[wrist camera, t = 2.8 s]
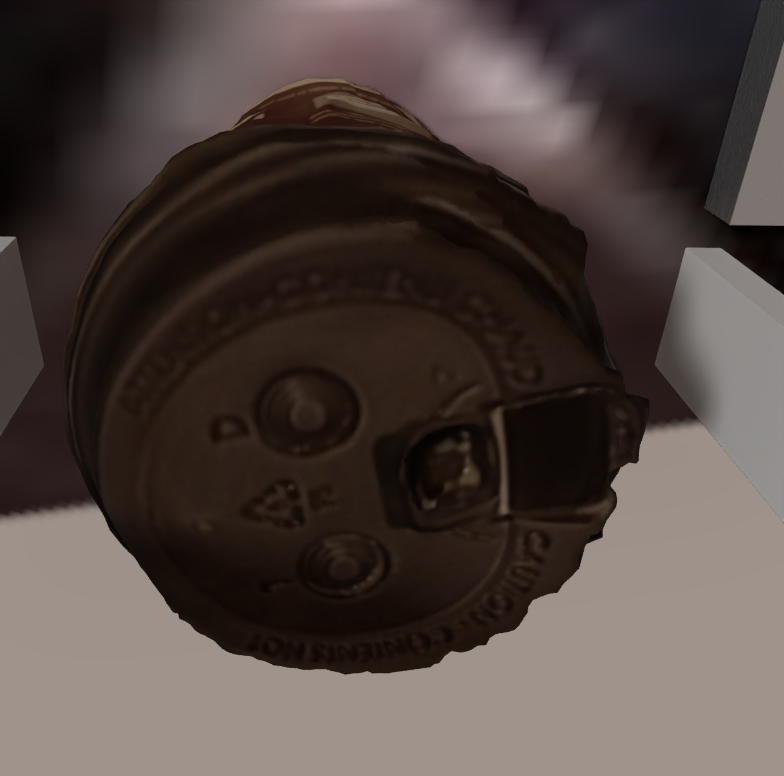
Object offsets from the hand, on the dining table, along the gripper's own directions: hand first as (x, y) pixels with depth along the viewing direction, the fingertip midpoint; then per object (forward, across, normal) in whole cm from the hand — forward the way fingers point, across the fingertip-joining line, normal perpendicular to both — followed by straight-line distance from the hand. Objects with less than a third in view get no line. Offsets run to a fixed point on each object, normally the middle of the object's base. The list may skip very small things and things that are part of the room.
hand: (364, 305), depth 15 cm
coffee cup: (+7, 0, 0) cm, 7 cm away
